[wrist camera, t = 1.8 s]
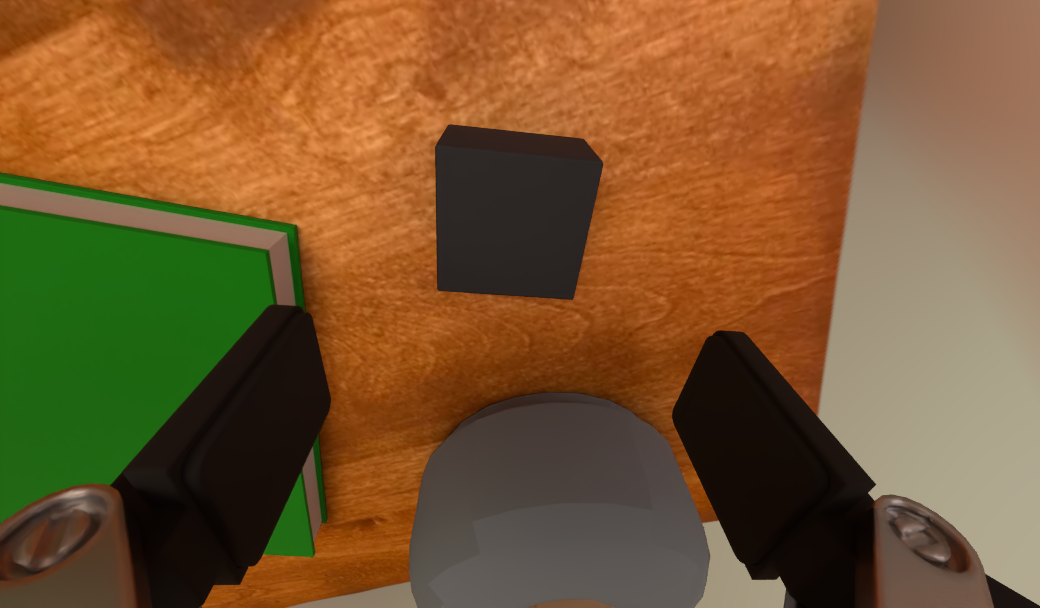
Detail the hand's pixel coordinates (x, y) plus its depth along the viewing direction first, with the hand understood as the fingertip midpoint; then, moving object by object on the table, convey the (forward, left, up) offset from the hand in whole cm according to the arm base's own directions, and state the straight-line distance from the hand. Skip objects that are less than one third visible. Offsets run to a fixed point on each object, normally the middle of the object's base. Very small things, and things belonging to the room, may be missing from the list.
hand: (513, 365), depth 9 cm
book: (+23, +15, -11) cm, 30 cm away
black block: (0, 0, -11) cm, 11 cm away
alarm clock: (-5, +22, -11) cm, 25 cm away
